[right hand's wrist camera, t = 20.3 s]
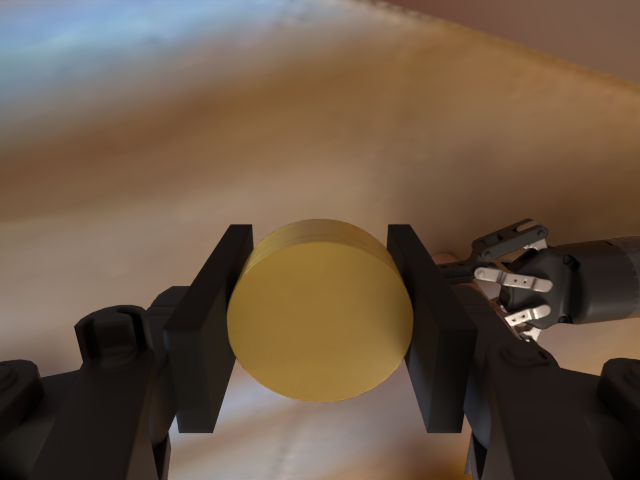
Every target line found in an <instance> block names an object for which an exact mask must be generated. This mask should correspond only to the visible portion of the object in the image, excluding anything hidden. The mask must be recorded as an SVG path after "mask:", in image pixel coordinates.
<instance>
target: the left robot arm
mask: <svg viewBox="0 0 640 480" xmlns="http://www.w3.org/2000/svg"><path fill="white" fill-rule="evenodd" d="M547 235H548V230H547V228H545V227H543V226H542V225H541V224H539V223H538V222H536V221H534V220H532V219H525V220H523V221H520V222H518V223H515V224H513V225H510V226H508V227H505V228H503V229H501V230H498V231H496V232H493V233H491V234H488V235H486V236H484V237H481V238H479V239H476V240H474V241H473V243H472V249H473V250H472V253H471V256H470V257H469V258H468V259H467V260H465V261H460V262H452V263H445V264H437V267H438V268H439V270H440V272H441V273H442V275H443V276H444V278H445V279H446V281H447V282H448V284H449V285H456V284H463V283H472V282H473V278H476V279H479V280H486V281H493V282H497V283H499V284H501V290H500V293H499V296H498V297H495V298H493V299H490V300H491V302H492V303H493V304H494V305H495V307H496V308H497V309H498V310H499V312H500V313H501V314H502V315H503V316H504V318H505V319H506V320H507V321H508V323H509V324H510V325H511V326H514V325H517V324H520V323H522V322H524V323H526V324H527V325H526V326H523V327H518V326H515V327H514V330H515V331H516V333H517V334H518V335H519V336H520V338H521V339H522V340H525V341H529V342H531V343H533V344H536V345H538V343H537V339H538V337H539V335H540V332H541V330H542V329H546V328H549V327H550V326H552V325H554V324H557V323H567V324H587V323H595V322H604V321H612V320H621V319H629V318H638V317H640V236H630V237H620V238H613V239H605V240H597V241H589V242H581V243H573V244H566V245H559V246H556V247H550V246H548V245H547V244H546V241H545V238H546V237H547ZM522 247H523V248H525V249H529V248H530V249H529V250H528V251H526V252H525V253H524V254H522V255H521V256H520V257H518V258H517V259H516V260H514V261H509V260H502V259H495V258H497V257H500V256H502V255H505V254H507V253H510V252H512V251H515V250H517V249H520V248H522ZM503 308H504V309H505V310H506V311H507V312H508V313H506V312H503V311H502V310H501V309H503ZM538 346H539V345H538Z"/></svg>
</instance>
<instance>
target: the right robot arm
mask: <svg viewBox="0 0 640 480" xmlns="http://www.w3.org/2000/svg"><path fill="white" fill-rule="evenodd" d="M253 250H254V248H253V232H252V224H231V225H230V226H229V228H228V229H227V231H226V232H225V234H224V235H223V237H222V238H221V240H220V241H219V243H218V244H217V246H216V248H215V249H214V251H213V252H212V254H211V255H210V257H209V258H208V260H207V261H206V263H205V264H204V266H203V267H202V269H201V270H200V272H199V273H198V275H197V276H196V278H195V280H194V281H193V283H192V284H191V286H172V287H170V288H169V289H167V290H166V291H164V292H162V293H161V294H159V295H158V296H157V298H156V299H155V300H154V301H153V303H152V304H151V307H149V308H148V309H147V310H145V309H143V308H142V307H139V306H134V305H117V306H112V307H107V308H103V309H101V310H98V311H95V312H93V313H91V314H89V315H87V316H86V317H84V318H82V319H81V320H80V321H79V322H78V323H77V324H76V325H75V326H74V328H75V332H76V336H77V340H78V344H79V348H80V352H81V355H82V359H83V364H82V366H81V368H80V370H76V371H72V372H67V373H62V374H57V375H52V376H47V377H42V378H41V377H40V374H39V371H38V368H37V365H35V364H34V363H33V362H31V361H27V360H11V361H3V362H0V480H167V478H168V470H169V461H170V453H171V444H170V438H169V432H168V431H169V429H170V426H171V424H172V422H173V420H174V417H175V415H176V417H177V423H178V430H179V433H213V431H214V428H215V424H216V421H217V418H218V415H219V411H220V408H221V405H222V402H223V399H224V395H225V392H226V389H227V386H228V383H229V379H230V376H231V373H232V370H233V366H234V363H235V360H236V356H235V355H234V352H233V350H232V348H231V345H230V342H229V338H228V328H227V308H228V303H229V300H230V297H231V294H232V292H233V289H234V287H235V285H236V282H237V280H238V278H239V276H240V273H241V271H242V269H243V266H244V264H245V262H246V260H247V258H248V257H249V255H250V254H251V252H252V251H253ZM387 251H388V252H389V253H390V255H391V256H392V258H393V260H394V262H395V263H396V266H397V268H398V270H399V273H400V275H401V277H402V280H403V282H404V285H405V287H406V289H407V291H408V294H409V296H410V299H411V302H412V307H413V312H414V320H413V331H412V339H411V343H410V346H409V348H408V351H407V353H406V355H405V357H404V359H405V362H406V366H407V369H408V372H409V375H410V379H411V382H412V385H413V388H414V391H415V395H416V398H417V401H418V404H419V407H420V411H421V414H422V417H423V420H424V424H425V427H426V430H427V433H461V431H462V425H463V419H464V413H465V415H466V417H467V419H468V422H469V424H470V426H471V428H472V432H471V438H470V444H469V449H468V455H467V461H466V466H465V473H464V474H467V475H470V471H471V469H472V477H473V480H640V360H637V359H628V358H615V359H610V360H608V361H607V362H606V363H604V365H603V369H602V372H601V375H600V376H597V375H592V374H587V373H582V372H577V371H572V370H567V369H563V368H560V367H559V365H558V363H557V361H556V360H555V359H554V357H553V356H552V355H551V354H550V353H549V352H548V351H546V350H545V349H543V348H542V347H540V346H538V345H536V344H533V343H531V342H529V341H525V340H521V339H517V338H516V336H515V335H514V334H513V332H512V331H511V330H510V329H509V327H508V326H507V325H506V324H505V322H504V321H503V320H502V318H501V317H500V316H499V315H498V314H497V312H496V311H495V310H494V308H493V307H492V306H490V303H489V302H488V301H487V299H486V298H485V297H484V296H483V294H482V293H480V292H479V291H477V290H475V289H474V288H472V287H470V286H469V285H449V284H448V282H447V281H446V279H445V278H444V276H443V275H442V273H441V272H440V270H439V268H438V267H437V265H436V264H435V262H434V261H433V259H432V258H431V256H430V255H429V253H428V252H427V250H426V249H425V247H424V246H423V244H422V243H421V241H420V240H419V238H418V236H417V235H416V233H415V232H414V230H413V229H412V227H411V226H410V224H388V236H387Z"/></svg>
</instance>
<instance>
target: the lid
mask: <svg viewBox="0 0 640 480" xmlns="http://www.w3.org/2000/svg"><path fill="white" fill-rule="evenodd" d="M413 320H414V312H413V307H412V302H411V299H410V296H409V294H408V291H407V289H406V287H405V285H404V282H403V280H402V277H401V275H400V273H399V270H398V268H397V266H396V263H395V262H394V260H393V258H392V256H391V255H390V253H389V252H388V251H387V249H386V248H385V247H384V246H383V245H382V244H381V243H380V242H379V241H378V240H377V239H376V238H375V237H373V236H372V235H371V234H369V233H368V232H366V231H364V230H362V229H360V228H359V227H356V226H354V225H351V224H349V223H345V222H341V221H337V220H329V219H311V220H303V221H299V222H295V223H292V224H289V225H286V226H284V227H282V228H280V229H278V230H276V231H274V232H273V233H271V234H270V235H268V236H267V237H266V238H264V239H263V240H262V241H261V242H260V243H259V244H258V245H257V246H256V247H255V248H254V250H253V251H252V252H251V254H250V255H249V257H248V258H247V260H246V262H245V264H244V266H243V269H242V271H241V273H240V276H239V278H238V280H237V282H236V285H235V287H234V289H233V292H232V294H231V297H230V300H229V303H228V308H227V328H228V338H229V342H230V345H231V348H232V350H233V352H234V355H235V356H236V358H237V360H238V361H239V363H240V364H241V365H242V367H243V368H244V369H245V370H246V372H247V373H248V374H249V375H250V376H252V377H253V378H254V379H255V380H256V381H257V382H259V383H260V384H261V385H263V386H264V387H266V388H268V389H270V390H271V391H273V392H276V393H278V394H280V395H282V396H285V397H289V398H292V399H296V400H301V401H308V402H332V401H340V400H344V399H349V398H352V397H355V396H358V395H360V394H363V393H365V392H367V391H369V390H371V389H372V388H374V387H376V386H377V385H379V384H380V383H382V382H383V381H384V380H385V379H387V378H388V377H389V376H390V375H391V374H392V373H393V372H394V371H395V370H396V368H397V367H398V366H399V364H400V363H401V362H402V360H403V358H404V357H405V355H406V353H407V351H408V348H409V346H410V343H411V339H412V331H413Z"/></svg>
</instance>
